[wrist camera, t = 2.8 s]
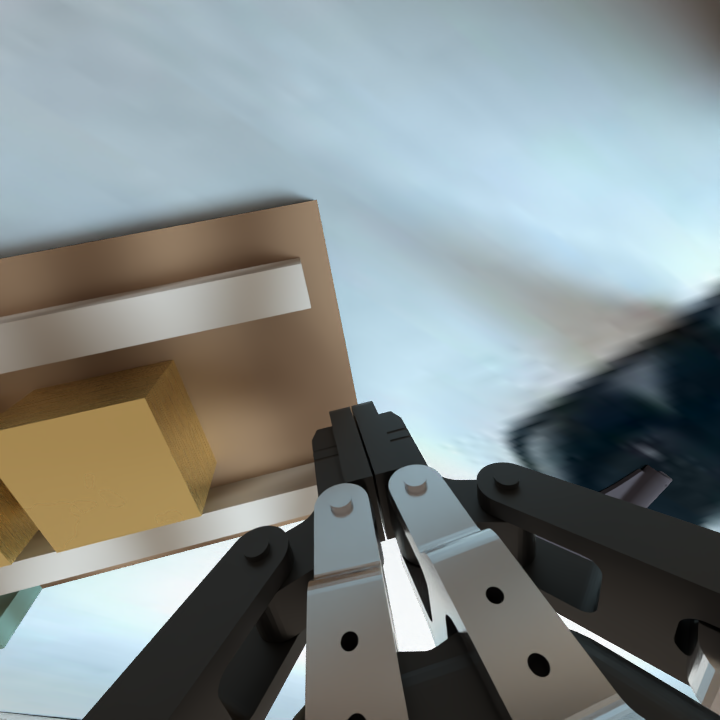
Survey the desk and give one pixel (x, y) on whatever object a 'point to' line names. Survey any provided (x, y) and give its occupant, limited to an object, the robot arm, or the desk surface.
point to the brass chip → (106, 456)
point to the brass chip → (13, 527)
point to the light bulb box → (24, 717)
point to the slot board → (187, 366)
